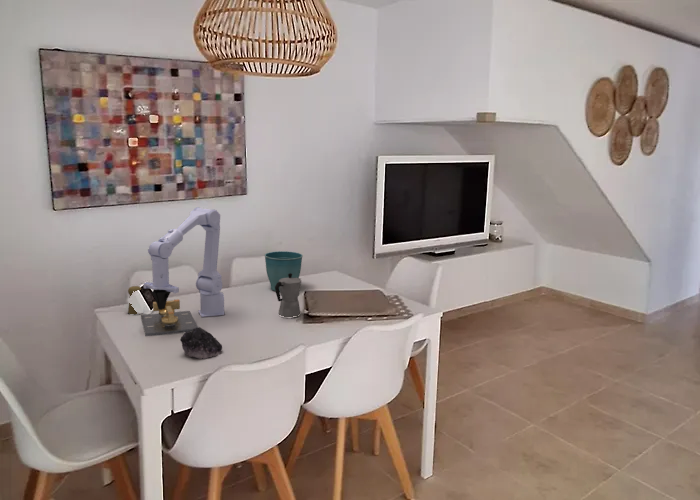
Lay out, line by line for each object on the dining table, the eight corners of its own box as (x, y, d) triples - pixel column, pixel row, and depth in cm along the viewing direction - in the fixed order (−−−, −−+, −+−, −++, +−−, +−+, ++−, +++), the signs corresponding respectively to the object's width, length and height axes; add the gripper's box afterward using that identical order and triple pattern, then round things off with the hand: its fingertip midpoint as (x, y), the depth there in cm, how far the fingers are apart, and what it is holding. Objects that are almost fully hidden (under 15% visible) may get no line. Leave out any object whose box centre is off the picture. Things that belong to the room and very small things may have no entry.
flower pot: (265, 283, 284) (265, 250, 280) (301, 284, 286) (302, 251, 282) (263, 294, 266) (263, 258, 263) (302, 294, 268) (303, 259, 265)
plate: (189, 313, 235) (189, 308, 235) (198, 330, 216) (198, 326, 215) (140, 317, 228) (140, 313, 227) (145, 336, 208) (145, 331, 208)
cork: (138, 315, 230) (137, 289, 228) (124, 314, 231) (123, 288, 229) (146, 311, 236) (145, 285, 234) (133, 309, 237) (132, 284, 235)
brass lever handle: (176, 317, 223) (176, 304, 222) (179, 325, 215) (179, 312, 213) (160, 318, 221) (160, 306, 220) (163, 327, 212) (162, 314, 211)
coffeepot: (291, 309, 246) (292, 268, 242) (308, 313, 241) (309, 272, 237) (266, 317, 233) (266, 275, 230) (283, 322, 228) (284, 279, 224)
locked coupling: (152, 312, 228) (152, 299, 227) (178, 309, 232) (178, 297, 231) (154, 316, 223) (153, 304, 222) (180, 314, 227) (180, 302, 226)
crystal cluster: (224, 347, 203) (222, 319, 202) (220, 358, 190) (218, 329, 189) (186, 350, 202) (183, 322, 200) (179, 362, 188) (177, 333, 187)
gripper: (137, 273, 209) (138, 309, 212) (169, 278, 204) (170, 314, 207) (150, 269, 215) (151, 304, 218) (182, 274, 210) (182, 309, 213)
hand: (161, 309), depth 213 cm, fingers closed
